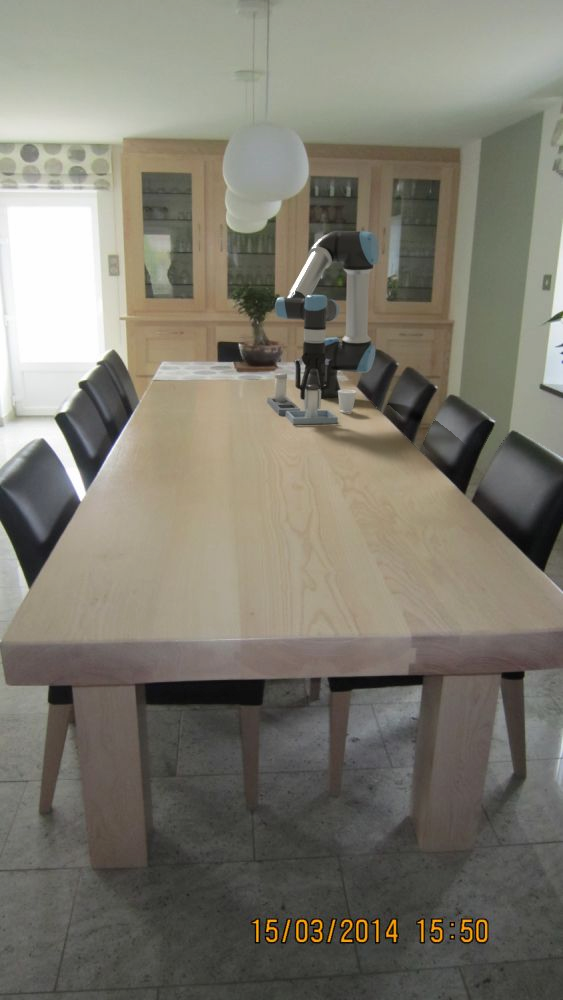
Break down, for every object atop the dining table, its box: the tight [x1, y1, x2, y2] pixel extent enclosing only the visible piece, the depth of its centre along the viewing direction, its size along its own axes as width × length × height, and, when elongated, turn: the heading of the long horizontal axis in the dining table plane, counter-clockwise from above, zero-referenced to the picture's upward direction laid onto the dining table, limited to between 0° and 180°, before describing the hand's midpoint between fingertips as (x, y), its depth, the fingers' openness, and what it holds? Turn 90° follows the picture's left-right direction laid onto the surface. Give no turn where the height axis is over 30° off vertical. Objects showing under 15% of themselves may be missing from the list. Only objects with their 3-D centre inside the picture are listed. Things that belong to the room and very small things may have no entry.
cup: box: [337, 389, 357, 415], centre depth 281 cm, size 7×10×8 cm
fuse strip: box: [266, 396, 302, 416], centre depth 282 cm, size 8×22×2 cm, turn 12°
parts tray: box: [285, 409, 339, 426], centre depth 266 cm, size 16×12×2 cm
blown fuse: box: [304, 385, 319, 418], centre depth 264 cm, size 5×5×12 cm
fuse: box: [274, 372, 288, 402], centre depth 285 cm, size 5×5×12 cm
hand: (311, 408), depth 265 cm, fingers closed on blown fuse, 4 cm apart
